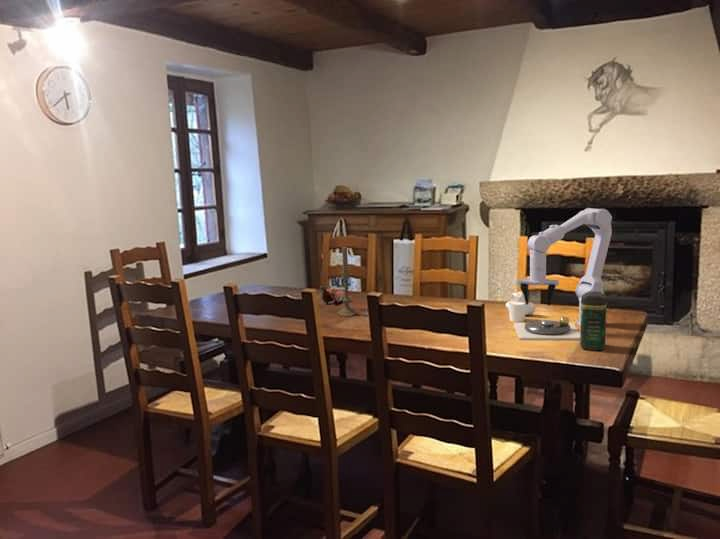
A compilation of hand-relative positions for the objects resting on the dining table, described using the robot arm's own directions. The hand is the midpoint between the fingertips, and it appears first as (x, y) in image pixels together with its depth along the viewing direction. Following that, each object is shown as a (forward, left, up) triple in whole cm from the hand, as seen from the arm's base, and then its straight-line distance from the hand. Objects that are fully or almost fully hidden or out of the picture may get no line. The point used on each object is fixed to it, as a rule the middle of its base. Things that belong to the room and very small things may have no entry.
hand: (537, 304), depth 230 cm
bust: (+4, -24, -10) cm, 27 cm away
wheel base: (-3, +4, -10) cm, 11 cm away
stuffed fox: (+88, -52, -10) cm, 103 cm away
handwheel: (-3, +4, -8) cm, 10 cm away
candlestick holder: (+77, -26, -10) cm, 82 cm away
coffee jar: (-15, +24, -10) cm, 30 cm away
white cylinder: (+6, -15, -10) cm, 19 cm away
